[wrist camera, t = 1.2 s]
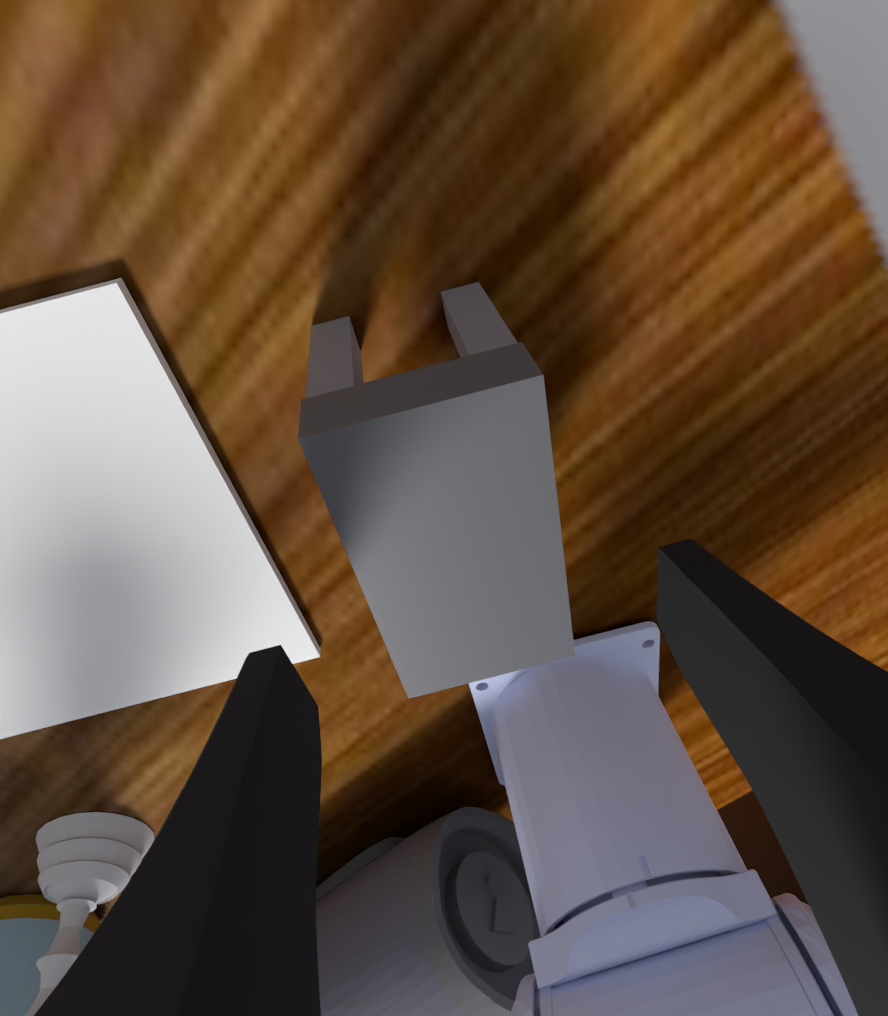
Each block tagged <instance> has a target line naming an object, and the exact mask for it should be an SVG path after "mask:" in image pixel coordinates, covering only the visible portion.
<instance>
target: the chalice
mask: <svg viewBox="0 0 888 1016" xmlns="http://www.w3.org/2000/svg"><path fill="white" fill-rule="evenodd" d="M35 840H36V843H37V847H38V850H39V855H38V859H37V865H38V868H39V872H40V875H39V877H38V883H39V886H40V888H41V891H42V893H43V895H44V897H45V898H46V899H48V900H49V901H51V902H53V903H56V904H57V906H56V908H57V910H58V911H60V912H61V915H60V924H59V931H58V933H57V935H56V937H55V939H54V941H53V943H52V945H51V947H50V948H49V950H48V952H47V953H46V954H45V955H43V956H42V957H41V958H40V959H39V960H37V961H36V965H37V967H38V969H39V971H40V973H41V980H40V992H39V994H38V996H37V997H36V999H35V1001H34V1003H33V1005H32V1006H31V1008H30V1010H29V1011H28V1012H27V1013H26V1014H25V1016H34V1015H35V1013H36V1012H37V1011H38V1009H39V1008H40V1007H41V1005H42V1004H43V1003H44V1002H45V1000H46V999H47V998H48V996H49V995H50V994H51V992H52V991H53V990H54V989H55V987H56V986H57V985H58V983H59V982H60V981H61V979H62V978H63V977H64V975H65V974H66V973H67V971H68V970H69V968H70V967H71V966H72V964H73V963H74V961H75V960H76V959H77V957H78V956H79V954H80V953H79V941H80V930H81V928H82V926H83V924H84V922H85V920H86V918H87V916H88V914H89V913H90V912H92V911H94V910H95V909H96V907H97V905H98V904H102V903H105V902H107V901H110V900H112V899H113V898H114V897H116V896H117V895H118V894H119V893H120V892H121V891H122V890H123V889H124V888H125V887H126V885H127V884H128V882H129V880H130V877H131V875H132V874H133V873H134V872H135V871H136V869H137V868H138V866H139V865H140V863H141V861H142V860H141V859H142V857H143V856H144V855H145V854H146V853H147V851H148V850H149V848H150V846H151V845H152V843H153V841H154V840H155V838H154V833H153V831H152V830H151V829H150V828H149V827H148V826H147V825H146V824H144V823H142V822H140V821H138V820H136V819H134V818H132V817H128V816H124V815H120V814H115V813H103V812H88V813H76V814H71V815H67V816H62V817H59V818H57V819H54V820H52V821H50V822H48V823H46V824H45V825H44V826H43V827H42V828H40V829H39V830H38V832H37V835H36V839H35Z"/></svg>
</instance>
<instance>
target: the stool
mask: <svg viewBox="0 0 888 1016" xmlns="http://www.w3.org/2000/svg"><path fill="white" fill-rule="evenodd" d="M441 297H442V301H443V306H444V311H445V316H446V320H447V325H448V329H449V332H450V334H451V337H452V339H453V341H454V344H455V346H456V348H457V351H458V353H459V356H460V358H458V359H454V360H450V361H446V362H443V363H439V364H435V365H431V366H427V367H423V368H420V369H416V370H412V371H408V372H404V373H401V374H397V375H393V376H389V377H385V378H381V379H378V380H374V381H370V382H366V383H364V382H363V372H362V361H361V352H360V348H359V345H358V342H357V339H356V336H355V333H354V329H353V326H352V323H351V320H350V317H349V316H347V317H343V318H339V319H335V320H331V321H328V322H324V323H320V324H316V325H312V326H311V337H310V350H309V363H308V376H307V389H306V398H305V399H301V411H300V422H299V433H298V440H299V442H300V445H301V447H302V449H303V452H304V454H305V456H306V459H307V461H308V463H309V466H310V468H311V470H312V473H313V475H314V478H315V480H316V482H317V485H318V487H319V489H320V492H321V494H322V496H323V499H324V501H325V503H326V506H327V508H328V510H329V513H330V515H331V518H332V520H333V522H334V525H335V527H336V529H337V532H338V534H339V536H340V539H341V541H342V543H343V546H344V548H345V550H346V553H347V555H348V558H349V560H350V562H351V565H352V567H353V569H354V572H355V574H356V576H357V579H358V581H359V583H360V586H361V588H362V590H363V593H364V595H365V598H366V600H367V602H368V605H369V607H370V609H371V612H372V614H373V616H374V619H375V621H376V623H377V626H378V628H379V630H380V633H381V635H382V638H383V640H384V642H385V645H386V647H387V649H388V652H389V654H390V656H391V659H392V661H393V663H394V666H395V668H396V670H397V673H398V675H399V678H400V680H401V682H402V685H403V687H404V689H405V692H406V694H407V696H408V699H409V698H413V697H417V696H421V695H425V694H429V693H433V692H436V691H440V690H444V689H448V688H452V687H456V686H460V685H464V684H468V683H472V682H475V681H479V680H483V679H487V678H491V677H495V676H499V675H503V674H507V673H511V672H514V671H518V670H522V669H526V668H530V667H534V666H538V665H542V664H546V663H550V662H554V661H557V660H561V659H565V658H569V657H573V656H575V650H574V641H573V633H572V624H571V615H570V606H569V597H568V588H567V579H566V570H565V561H564V552H563V544H562V535H561V526H560V517H559V508H558V499H557V490H556V481H555V472H554V464H553V455H552V446H551V437H550V428H549V419H548V410H547V401H546V392H545V383H544V375H543V373H542V372H541V370H540V369H539V367H538V366H537V364H536V362H535V361H534V359H533V358H532V356H531V355H530V353H529V352H528V350H527V349H526V347H525V346H524V344H523V343H522V342H519V343H517V341H516V339H515V338H514V336H513V335H512V333H511V332H510V330H509V328H508V327H507V325H506V324H505V322H504V321H503V319H502V318H501V316H500V314H499V313H498V311H497V310H496V308H495V307H494V305H493V304H492V302H491V300H490V299H489V297H488V296H487V294H486V293H485V291H484V289H483V288H482V286H481V285H480V283H479V282H476V283H472V284H468V285H465V286H461V287H457V288H453V289H449V290H446V291H442V292H441Z"/></svg>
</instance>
